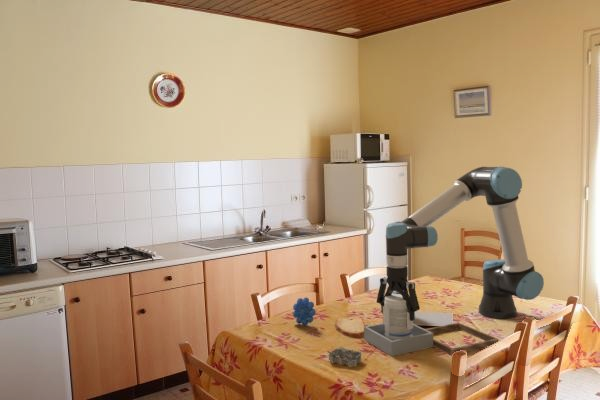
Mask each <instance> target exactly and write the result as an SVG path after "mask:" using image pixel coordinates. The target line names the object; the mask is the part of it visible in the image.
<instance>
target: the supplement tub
mask: <svg viewBox="0 0 600 400" xmlns="http://www.w3.org/2000/svg"><path fill="white" fill-rule="evenodd" d="M408 311H409V310H408V308H407V306H406V300H404V299H403V297H402V295H401V294H391V295H390V296H385V301H384V313H385V336H386V337H387V338H389V339H393V340H398V339H403V338H407V337H410V336H411V329H410V330H407V312H408Z"/></svg>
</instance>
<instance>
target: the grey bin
mask: <svg viewBox="0 0 600 400" xmlns="http://www.w3.org/2000/svg"><path fill="white" fill-rule="evenodd" d="M433 339H434V334H433V333H432V332H430V331H428V330H425V328H423V327H421V326H419V325H417V324H414V323H413V328H412V329H411V336H410V337H407V338H403V339H398V340H393V339H389V338H387V337H386V336H385V324H384V323H383V322H382V323H377V324H371V325H370V324H369V325H366V326H365V327H364V338H363V340H364V341H365V342H367V343H369V344H370V345H372V346H374V347H375V348H377V349H379V350H380V351H382V352H384V353H385V354H386V355H389V356H390V357H395V356H398V355H404V354H408V353H413V352H415V351H422V350H426V349H430V348H434V346H433Z"/></svg>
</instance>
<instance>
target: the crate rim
mask: <svg viewBox="0 0 600 400" xmlns="http://www.w3.org/2000/svg"><path fill="white" fill-rule="evenodd" d="M424 329H425V328H424ZM457 329H458V330H460V331H463V332H465V333H467V334H470V335H472V336H475V337H477V338H479V339H481V340H484V341H479V342H475V343H470V344H466V345H462V346H459V347H451V346H449V345H446V344H444V343H442V342H440V341H438V340H437V339H435V338H433V347H434V348H437V349H438V350H441V351H443V352H445V353H447V354H449V355H451V356H452V354H453V353H454V352H456V351H460V350H466V351H467V352H466V353H468V352H473V351H478V350H481V349H486V348H485V347H487V346H490V345H492V344H494V343H496V342H498V341H499V338H496V337H494V336H491V335H489V334H487V333H484V332H481V331H480V330H477V329H475V328H473V327H470V326H469V325H465V324H464V323H460V322H454V323H449V324H444V325H439V326H435V327H434V326H433V327H428V328H426V329H425V330H428V331H430V332H432V333H433V335H434V334H439V333H443V332H447V331H448V332H449V331H452V330H457ZM487 348H488V347H487Z"/></svg>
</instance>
